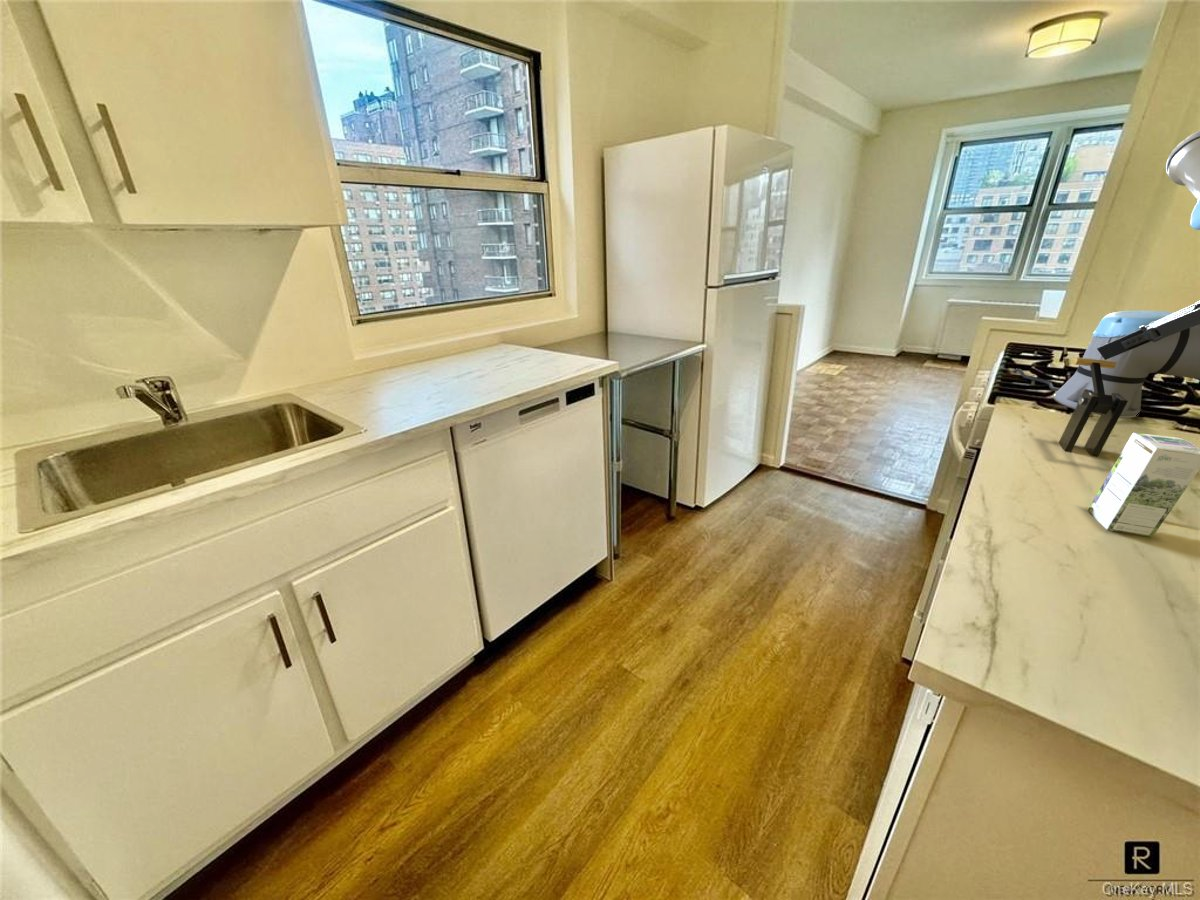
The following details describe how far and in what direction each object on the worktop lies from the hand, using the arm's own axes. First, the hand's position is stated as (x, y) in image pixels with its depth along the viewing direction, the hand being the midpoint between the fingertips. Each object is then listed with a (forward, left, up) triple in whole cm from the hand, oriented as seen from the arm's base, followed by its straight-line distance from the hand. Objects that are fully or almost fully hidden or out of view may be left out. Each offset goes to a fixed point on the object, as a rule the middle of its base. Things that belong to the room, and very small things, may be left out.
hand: (1101, 353), depth 96 cm
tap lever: (+5, 0, -6) cm, 8 cm away
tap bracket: (+11, 0, -18) cm, 21 cm away
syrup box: (+38, -1, -18) cm, 42 cm away
